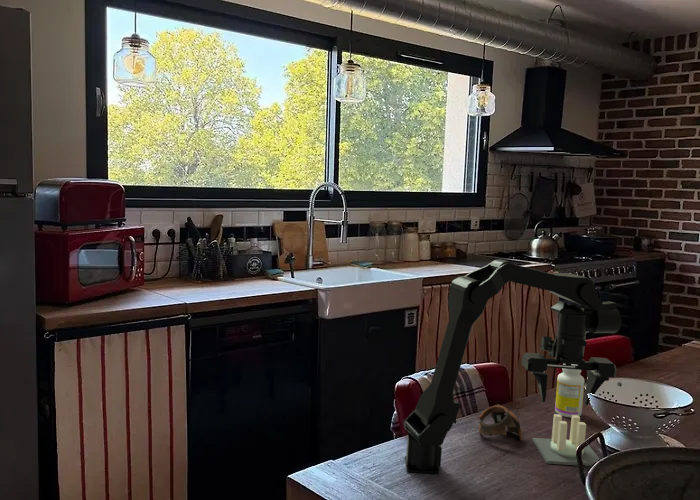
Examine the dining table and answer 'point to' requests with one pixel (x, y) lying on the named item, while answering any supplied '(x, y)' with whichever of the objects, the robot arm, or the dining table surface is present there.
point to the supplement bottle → (569, 393)
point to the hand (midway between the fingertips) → (564, 403)
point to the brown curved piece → (499, 422)
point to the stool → (560, 432)
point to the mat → (554, 458)
